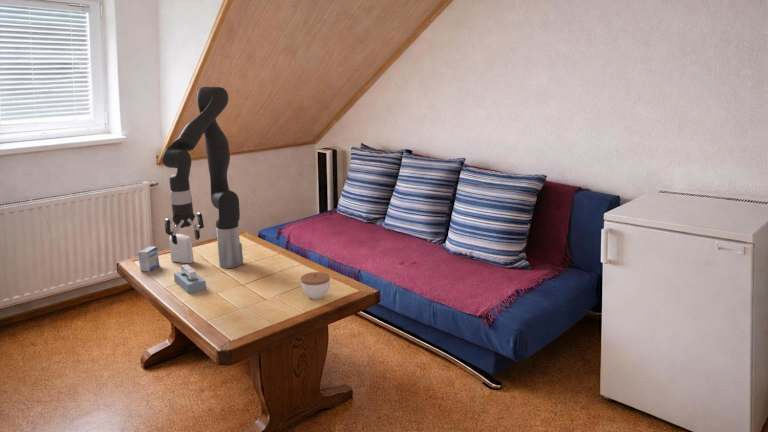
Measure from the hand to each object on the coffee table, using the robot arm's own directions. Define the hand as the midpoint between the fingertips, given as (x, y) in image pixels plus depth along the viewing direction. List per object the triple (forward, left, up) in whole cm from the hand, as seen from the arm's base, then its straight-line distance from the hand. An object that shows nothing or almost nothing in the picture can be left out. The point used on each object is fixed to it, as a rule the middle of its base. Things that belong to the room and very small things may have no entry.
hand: (186, 241), depth 244 cm
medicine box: (+7, -29, -18) cm, 35 cm away
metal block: (0, 0, -18) cm, 18 cm away
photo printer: (-7, -29, -18) cm, 35 cm away
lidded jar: (-34, +40, -18) cm, 55 cm away
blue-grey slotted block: (0, 0, -18) cm, 18 cm away
